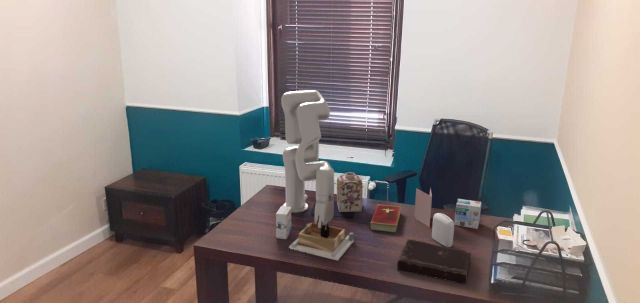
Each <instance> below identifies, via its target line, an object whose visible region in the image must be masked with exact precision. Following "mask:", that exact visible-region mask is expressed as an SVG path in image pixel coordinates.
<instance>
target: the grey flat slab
mask: <svg viewBox="0 0 640 303" xmlns="http://www.w3.org/2000/svg"><path fill="white" fill-rule="evenodd" d="M309 224H310V223H309V222H307V223H306V224H305V227H306V226H308V225H309ZM354 235H355V233H354V232H349V233H348V235H346V236H345V239H344V240H343V241H342V242H341V244H340V245H339V246H338V247H337V248H336V249H335V250H334V251H333V253H331V252H327V251H323V250H319V249H314V248H310V247H306V246H302V245H298V237H297V238H296V239H295V240H293V242H292V243H291V244H290V245H288V249H289V248H290V250H293V249H294V251H297V250H298V252H301V253H305V252H306V254H309V255H314V256H317V257H322V258H325V259H330V260H334V261H339V260H340V259H341V257H342V256H343V255H344V254H345V252H347V250H348V249H349V248H350V247H351V246H352V244H353V243H354V238H355V237H354Z"/></svg>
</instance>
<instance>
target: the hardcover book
mask: <svg viewBox="0 0 640 303" xmlns="http://www.w3.org/2000/svg"><path fill="white" fill-rule="evenodd" d="M401 210H402V206H396V205H387V204H380V203H379V204H377V205H376V208H375V210H374V213H373V216H372V218H371V221H370V223H369V230H370V231H371V230H372V231H373V230H374V231H383V232H391V233H397V229H398V224H399V220H400V217H401Z"/></svg>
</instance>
